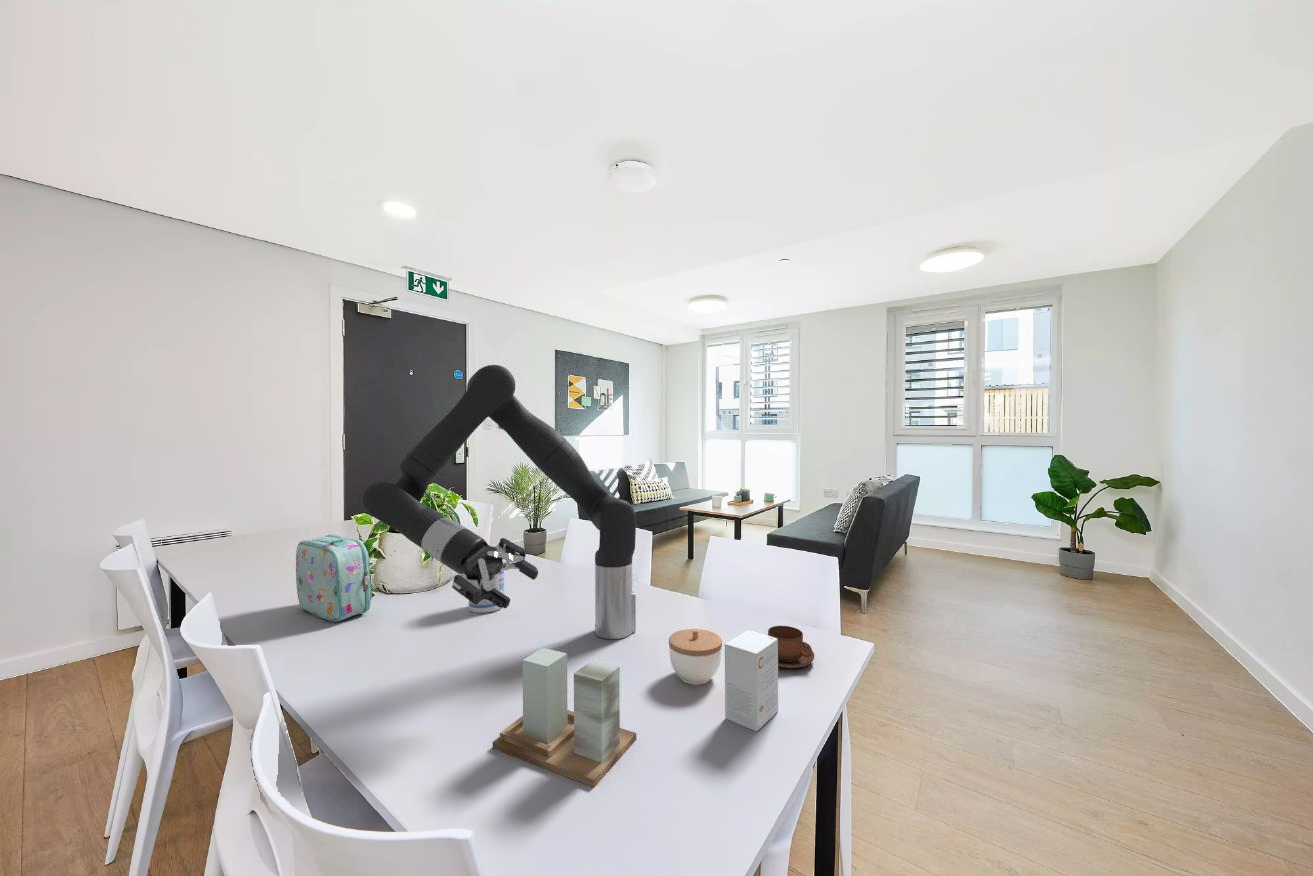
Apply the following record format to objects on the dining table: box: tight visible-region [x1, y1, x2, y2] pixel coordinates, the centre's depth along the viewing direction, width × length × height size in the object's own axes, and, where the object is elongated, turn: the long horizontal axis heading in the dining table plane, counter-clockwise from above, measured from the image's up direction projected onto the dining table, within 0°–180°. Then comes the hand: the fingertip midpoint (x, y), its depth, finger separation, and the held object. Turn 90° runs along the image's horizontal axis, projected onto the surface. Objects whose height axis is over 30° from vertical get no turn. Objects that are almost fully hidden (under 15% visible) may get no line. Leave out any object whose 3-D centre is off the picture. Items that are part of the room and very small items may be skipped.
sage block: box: [522, 647, 568, 744], centre depth 79 cm, size 5×5×12 cm
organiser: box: [492, 659, 637, 788], centre depth 77 cm, size 12×19×13 cm, turn 63°
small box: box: [724, 629, 779, 732], centre depth 85 cm, size 8×6×13 cm
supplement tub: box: [468, 559, 505, 614], centre depth 139 cm, size 10×10×15 cm
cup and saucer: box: [767, 625, 815, 669], centre depth 106 cm, size 12×12×6 cm
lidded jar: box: [668, 628, 723, 686], centre depth 99 cm, size 11×11×9 cm
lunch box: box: [295, 533, 373, 623], centre depth 136 cm, size 27×10×21 cm, turn 58°
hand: (523, 589), depth 90 cm, fingers open, 8 cm apart
